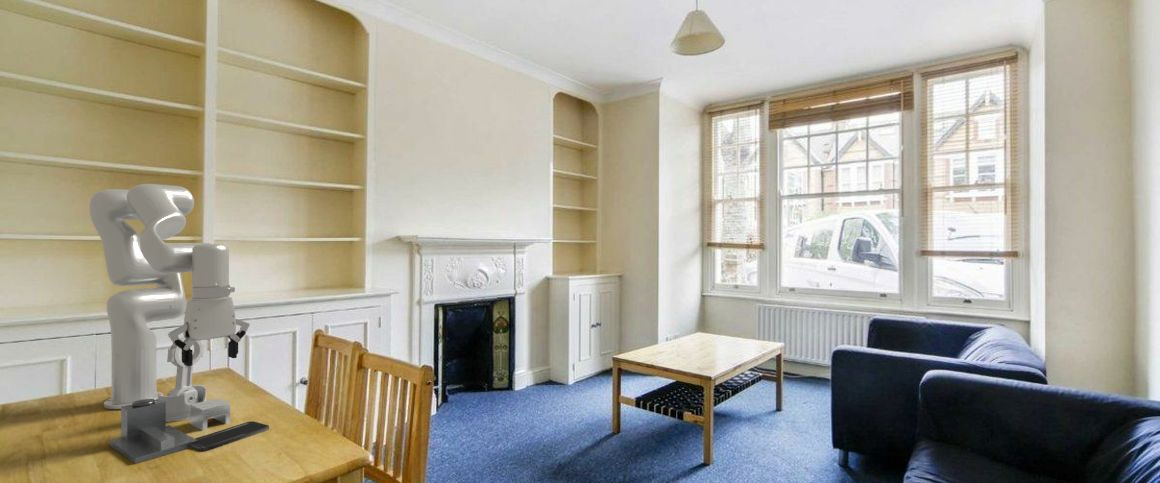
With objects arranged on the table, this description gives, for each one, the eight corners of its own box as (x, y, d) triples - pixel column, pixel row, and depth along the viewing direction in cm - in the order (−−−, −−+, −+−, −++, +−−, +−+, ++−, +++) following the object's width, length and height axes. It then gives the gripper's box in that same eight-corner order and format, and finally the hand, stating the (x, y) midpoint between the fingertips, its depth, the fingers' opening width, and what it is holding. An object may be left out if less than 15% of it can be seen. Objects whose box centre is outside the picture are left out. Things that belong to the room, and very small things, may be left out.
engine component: (147, 419, 130) (179, 423, 128) (147, 340, 130) (179, 342, 128) (188, 405, 141) (218, 408, 139) (188, 332, 141) (218, 333, 139)
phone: (184, 442, 115) (251, 420, 129) (184, 446, 115) (251, 425, 129) (204, 448, 112) (271, 425, 125) (204, 453, 112) (271, 430, 125)
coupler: (109, 445, 114) (109, 406, 114) (169, 430, 124) (169, 393, 124) (135, 463, 106) (135, 421, 106) (197, 445, 115) (197, 406, 115)
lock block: (202, 430, 124) (202, 410, 124) (189, 424, 128) (189, 404, 128) (230, 422, 129) (230, 403, 129) (217, 417, 133) (217, 397, 133)
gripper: (241, 289, 137) (241, 352, 137) (162, 295, 123) (162, 366, 123) (255, 291, 133) (255, 356, 133) (175, 297, 119) (175, 371, 119)
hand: (211, 361), depth 128 cm, fingers open, 9 cm apart
